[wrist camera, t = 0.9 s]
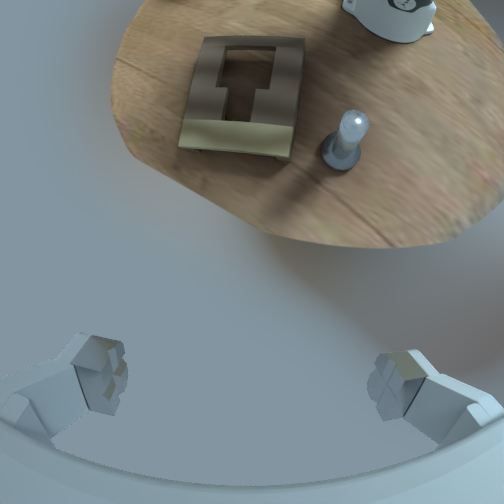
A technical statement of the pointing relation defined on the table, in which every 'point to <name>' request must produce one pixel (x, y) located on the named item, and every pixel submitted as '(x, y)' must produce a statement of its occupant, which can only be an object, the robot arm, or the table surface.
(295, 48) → the keyhole plate
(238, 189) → the table surface
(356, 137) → the footed peg
